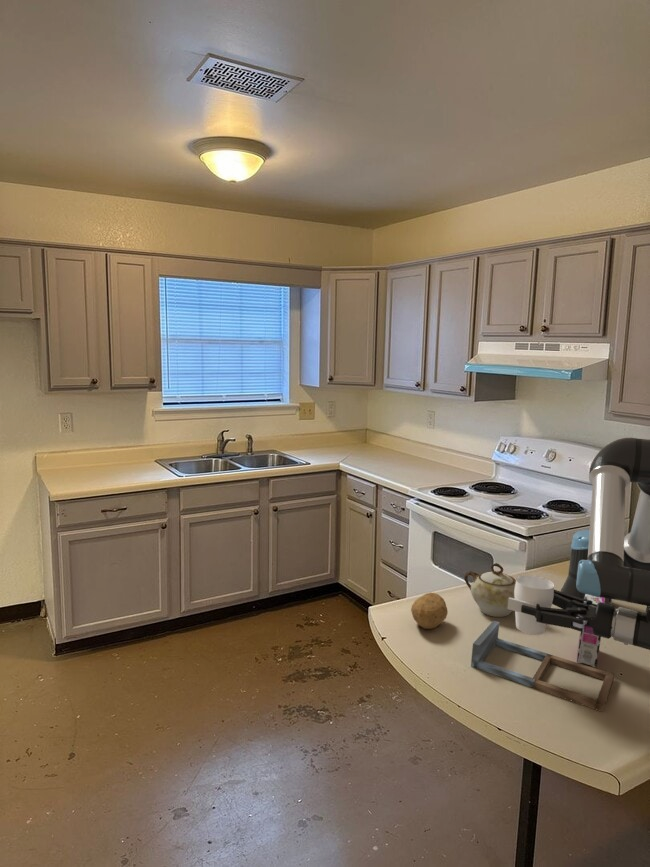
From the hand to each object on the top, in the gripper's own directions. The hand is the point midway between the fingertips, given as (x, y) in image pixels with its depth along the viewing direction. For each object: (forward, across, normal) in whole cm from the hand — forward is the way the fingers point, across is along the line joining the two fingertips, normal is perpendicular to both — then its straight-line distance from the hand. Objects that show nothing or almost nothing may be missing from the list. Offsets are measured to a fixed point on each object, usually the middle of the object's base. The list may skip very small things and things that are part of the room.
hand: (513, 596), depth 146 cm
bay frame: (-8, 0, -18) cm, 19 cm away
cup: (-5, 0, -7) cm, 9 cm away
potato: (+24, +7, -18) cm, 31 cm away
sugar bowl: (+12, +28, -18) cm, 36 cm away
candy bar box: (-16, +17, -18) cm, 29 cm away
